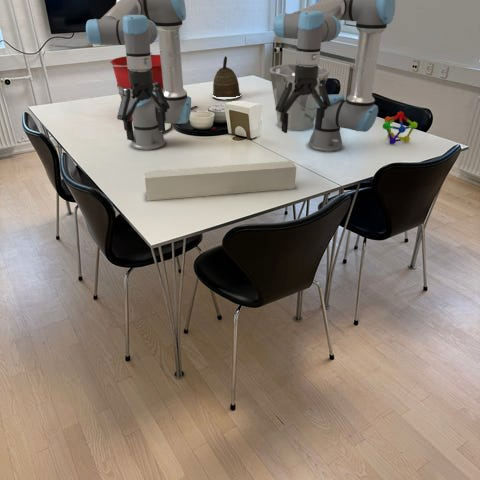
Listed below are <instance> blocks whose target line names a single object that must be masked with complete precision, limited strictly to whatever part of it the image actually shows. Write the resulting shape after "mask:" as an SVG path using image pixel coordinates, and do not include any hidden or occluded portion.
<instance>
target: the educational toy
mask: <svg viewBox="0 0 480 480" xmlns="http://www.w3.org/2000/svg"><path fill="white" fill-rule="evenodd" d="M397 119H399V124H400V125H399V127H398V126H393V125H391V124H392V123H394V122H395V121H396V120H397ZM403 120H404V121H405V122H407V123H408V124H409V125H407V126H404V123H403ZM417 127H418V122H417V121H411V120H410V119H409V118H408V117H406V116H405V113H404V112H403V111H401V110H400V111H398V112H397V114H396V115H394V116H391V117H390V116H386V117H385V118H384V122H383V123H382V129H383V130H386V132H387V138H388V142H389V145H395V144H396V143H397V142H402V141H403V142H404V143H409V142H410V140H411V138H410V136H411V134H412V132H413V131H414V130H415V129H417ZM392 129H393V130H397V131H398V132H396V134H395V133H394V132H392ZM408 129H409V131H408V133H407V134H406V135H404V136H401V134H403V133H405V132H406V130H408ZM399 135H400V136H399Z"/></svg>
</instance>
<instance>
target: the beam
mask: <svg viewBox="0 0 480 480" xmlns="http://www.w3.org/2000/svg"><path fill="white" fill-rule="evenodd" d="M296 177H297V166H296V164H295V162H293V160H287V161H286V160H285V161H273V162H258V163H244V164H243V163H242V164H228V165H216V166H202V167H189V168H188V167H187V168H174V169H173V168H172V169H160V170H146V171H145V170H144V182H145V192H146V199H147V202H149V201H159V200H160V201H161V200H171V199H184V198H198V197H210V196H221V195H233V194H245V193H256V192H259V193H260V192H268V191H269V192H270V191H271V192H272V191H283V190H294V189H296Z"/></svg>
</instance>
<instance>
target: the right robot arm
mask: <svg viewBox="0 0 480 480" xmlns="http://www.w3.org/2000/svg"><path fill="white" fill-rule="evenodd" d="M395 12H396V0H321V1H319V2H316V3H313V4H312V5H308V6H306V7H304V8H302V9H299V10H296V11H294V12H291V13H287V12H285V13H283V12H282V13H278V14H277V15H276V16H275V17H274V20H273V34H274V35H275V36H276V37H277V38H282V39H290V40H291V39H292V40H297V41H296V52H295V53H296V54H295V64H297V65H296V66H295V81H294V82H289V81H287V82H286V84H285V89H284V91H283V93H282V95H281V98H280V100H279V102H278V104H277V106H276V107H275V108H274V109H275V112H276V111H278V112H280V113H281V114H280V122H282V128H281V132H283V133H284V134H288V129H287V128H288V113H286V112H287V111H288V110H289V108H290V107H291V106H292V104H293V103H294V102H295V100H296V99H297V98H298V97H299V96H300V95H306V94H307V95H310V94H311V95H312V96H313V98H314V99H315V101H316V102H317V105H316V115H315V120H314V127H313V128H314V129H313V132H312V133H311V136H310V138H309V140H308V147H309V148H310V149H312V150H314V151H316V152H317V151H318V152H323V153H324V152H325V153H333V152H338V151H340V150H341V149H342V148H343V139H342V136H341V129H347V130H351V131H356V132H363V133H366V132H369V131H370V130H371V129H372V127H373V126H374V124H375V122H376V120H377V116H378V113H379V106H378V105H377V104H375V101H376V99H375V97H374V96H373V90H374V82H375V77H376V72H377V71H376V70H377V65H378V57H379V51H380V46H381V39H382V33H384V31H386V30H387V28H388V27H387V26H388V25H389V24H391V23H392V22H393V20H394V16H395ZM340 21H346V22H356V23H355V29H356V30H357V32H358V36H357V45H356V52H355V58H354V68H353V73H352V81H351V82H352V83H351V90H350V94H349V95H348V96H346V99H345V96H344V95H343V94H335V93H334V94H328V90H327V87H326V85H325V80H323V79H321V78H320V79H319V80H317V77H318V70H319V67H320V66H319V65H320V58H321V57H320V56H321V49H322V48H321V47H322V43H326V42H327V43H328V42H331V41H333V40H335V39H336V38H338V36H339V35H340V33H341V30H342V24H341V22H340ZM318 66H319V67H318ZM317 85H318V87H319V90H320V93H321V97H320V96H319V95H318V92H317V91H316V89H315V87H316V86H317ZM293 87H295V89H294V90H293V92H292V94H291V96H290V97H289V95H290V93H291V90H292V89H293ZM288 97H289V98H288ZM287 99H288V100H287Z"/></svg>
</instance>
